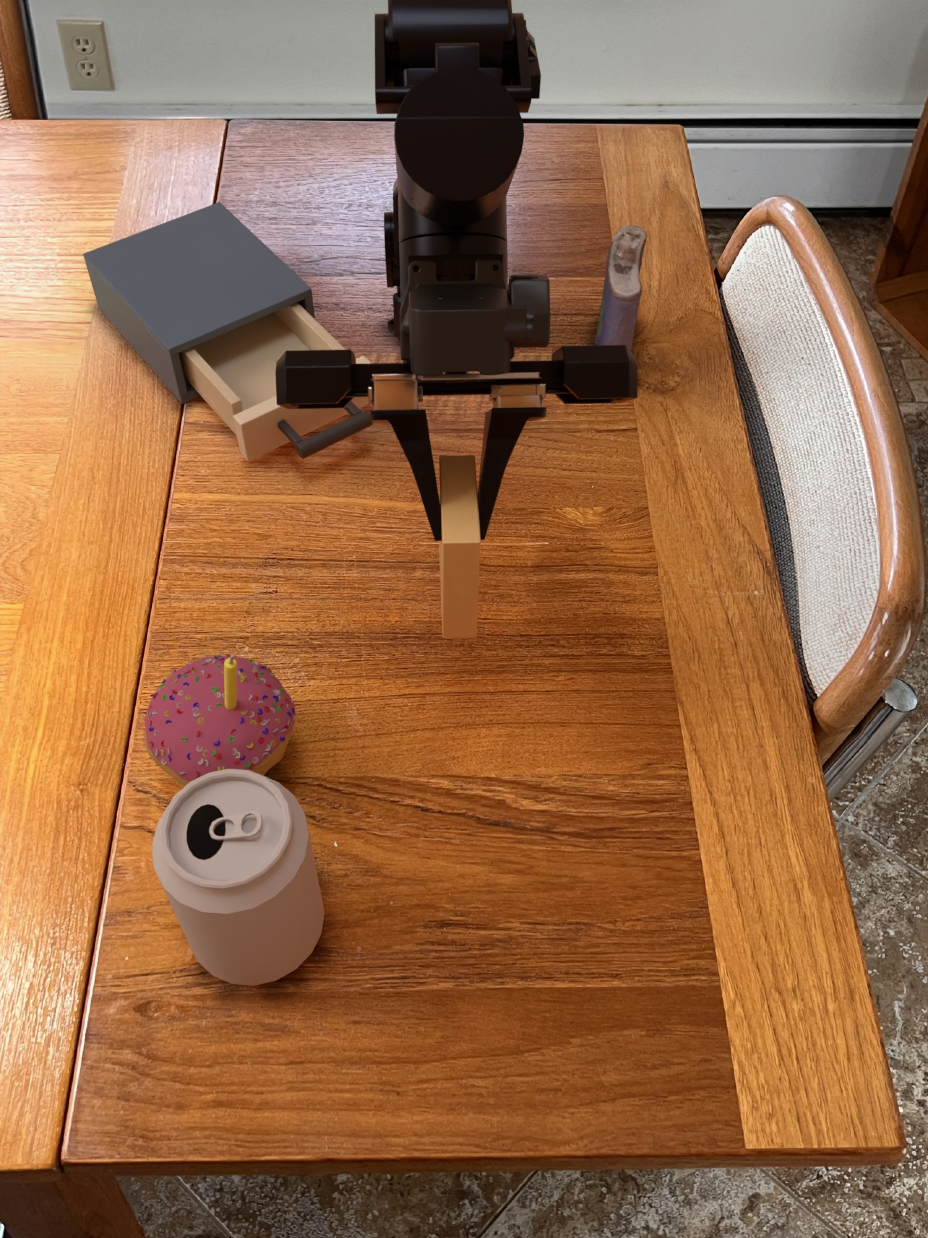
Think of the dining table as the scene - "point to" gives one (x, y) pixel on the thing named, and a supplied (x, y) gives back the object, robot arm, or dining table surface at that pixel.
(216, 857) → the can
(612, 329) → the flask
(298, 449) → the drawer
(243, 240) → the cabinet
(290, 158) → the dining table surface
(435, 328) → the robot arm
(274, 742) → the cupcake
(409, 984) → the dining table surface
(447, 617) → the block
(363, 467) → the dining table surface
